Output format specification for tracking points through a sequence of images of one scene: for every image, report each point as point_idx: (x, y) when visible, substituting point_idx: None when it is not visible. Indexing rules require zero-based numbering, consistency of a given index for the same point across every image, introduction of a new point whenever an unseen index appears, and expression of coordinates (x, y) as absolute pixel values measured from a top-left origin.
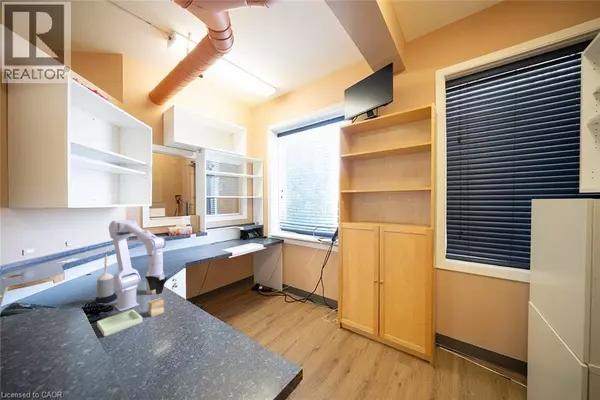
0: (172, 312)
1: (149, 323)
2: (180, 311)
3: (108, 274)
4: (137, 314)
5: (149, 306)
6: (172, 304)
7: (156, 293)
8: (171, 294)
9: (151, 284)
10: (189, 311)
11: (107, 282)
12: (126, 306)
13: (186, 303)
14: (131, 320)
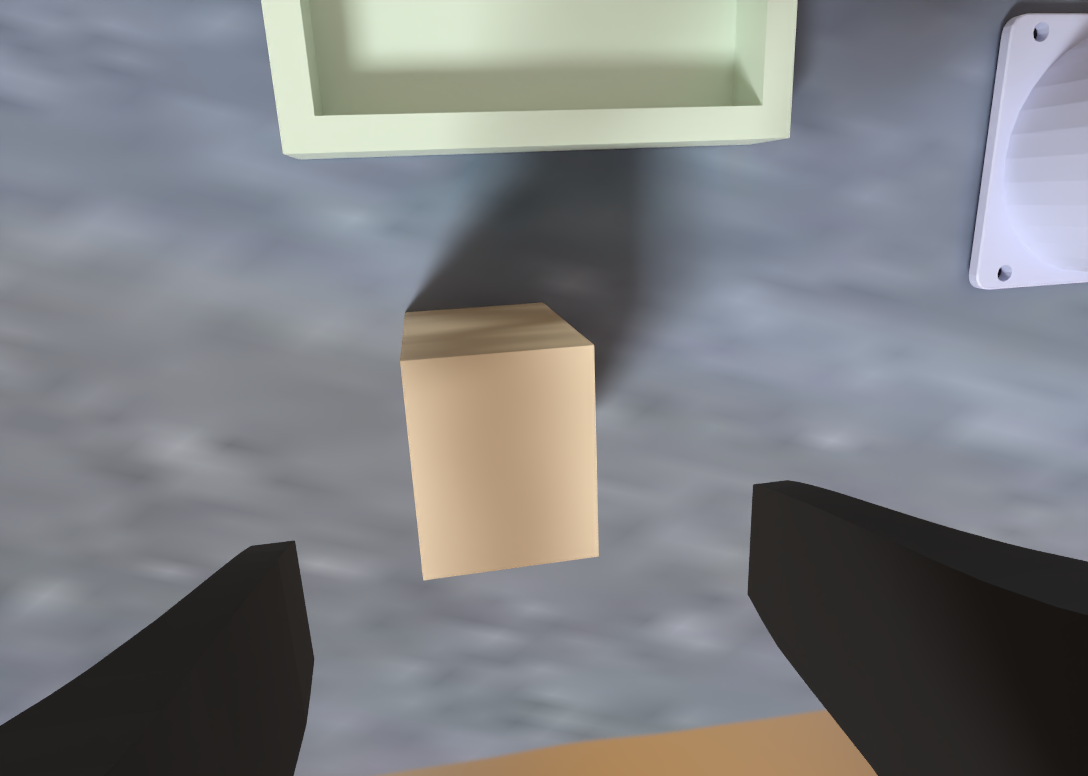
0: (310, 560)
1: (175, 227)
2: None
3: None
4: (499, 128)
5: (518, 332)
6: (594, 618)
7: (256, 552)
8: None
9: (878, 603)
10: None
11: None
12: (1041, 112)
13: (463, 756)
14: (485, 42)
